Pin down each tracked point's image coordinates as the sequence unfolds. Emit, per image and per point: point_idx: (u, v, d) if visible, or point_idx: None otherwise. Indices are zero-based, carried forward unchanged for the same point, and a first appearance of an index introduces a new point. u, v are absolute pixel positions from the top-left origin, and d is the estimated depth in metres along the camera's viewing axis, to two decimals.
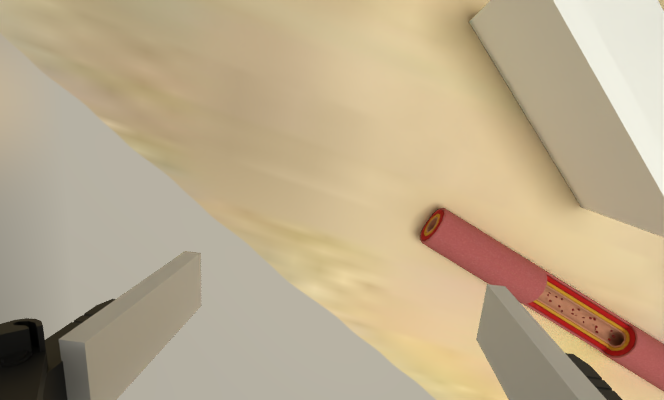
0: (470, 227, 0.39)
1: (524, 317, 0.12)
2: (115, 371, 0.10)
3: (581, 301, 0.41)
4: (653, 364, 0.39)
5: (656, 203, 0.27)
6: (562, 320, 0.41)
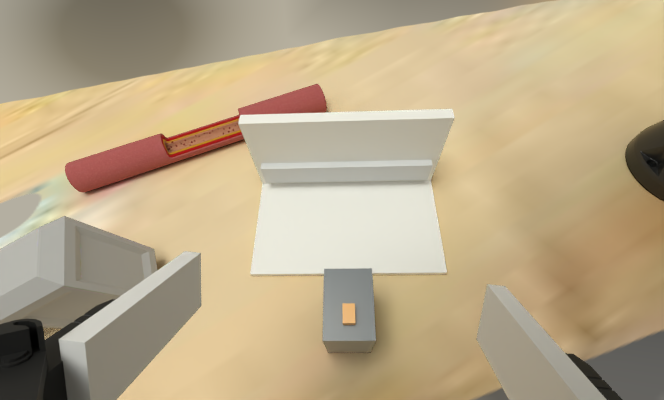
0: (306, 107, 0.56)
1: (524, 317, 0.12)
2: (115, 371, 0.10)
3: (209, 142, 0.55)
4: (140, 144, 0.52)
5: None
6: (206, 128, 0.56)
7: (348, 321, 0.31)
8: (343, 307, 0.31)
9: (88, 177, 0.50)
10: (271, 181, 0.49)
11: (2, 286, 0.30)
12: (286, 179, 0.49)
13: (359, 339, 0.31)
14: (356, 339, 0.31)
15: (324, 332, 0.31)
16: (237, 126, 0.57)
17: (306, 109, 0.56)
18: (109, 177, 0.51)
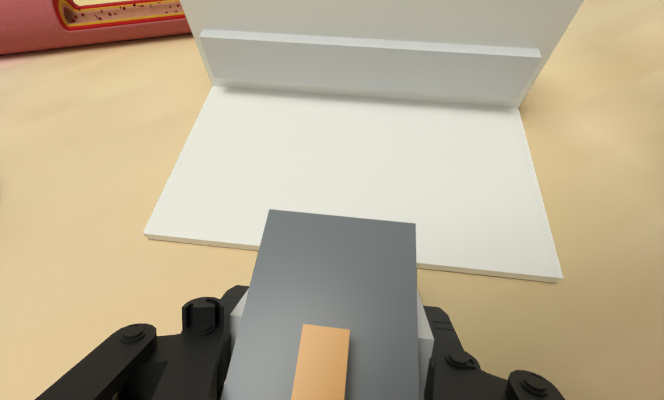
0: None
1: None
2: None
3: (137, 19, 0.32)
4: None
5: None
6: (142, 2, 0.34)
7: None
8: (304, 340, 0.08)
9: None
10: (223, 74, 0.27)
11: None
12: (250, 71, 0.26)
13: None
14: None
15: None
16: None
17: None
18: None
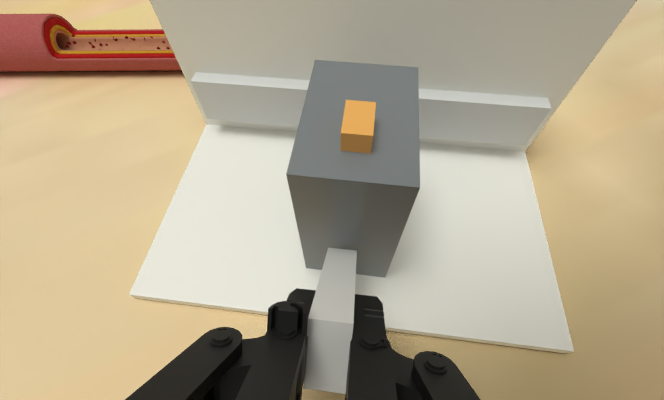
0: None
1: (348, 270, 0.15)
2: None
3: (125, 53, 0.31)
4: (11, 18, 0.30)
5: None
6: (138, 33, 0.33)
7: (355, 132, 0.12)
8: (347, 106, 0.13)
9: None
10: (217, 116, 0.25)
11: None
12: (245, 114, 0.25)
13: (378, 180, 0.12)
14: (370, 179, 0.12)
15: (293, 159, 0.13)
16: None
17: None
18: None
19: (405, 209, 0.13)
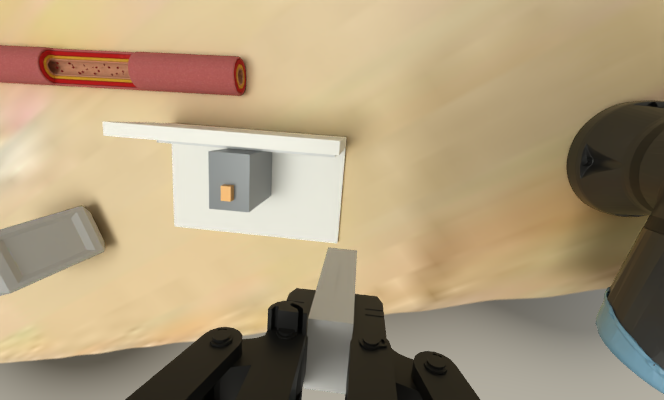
0: (212, 91, 0.45)
1: (348, 270, 0.15)
2: None
3: (98, 81, 0.47)
4: (16, 63, 0.45)
5: (145, 124, 0.37)
6: (97, 57, 0.46)
7: (225, 199, 0.39)
8: (221, 189, 0.39)
9: None
10: None
11: None
12: None
13: (236, 210, 0.40)
14: (234, 210, 0.40)
15: (210, 203, 0.40)
16: None
17: (212, 92, 0.45)
18: None
19: None
